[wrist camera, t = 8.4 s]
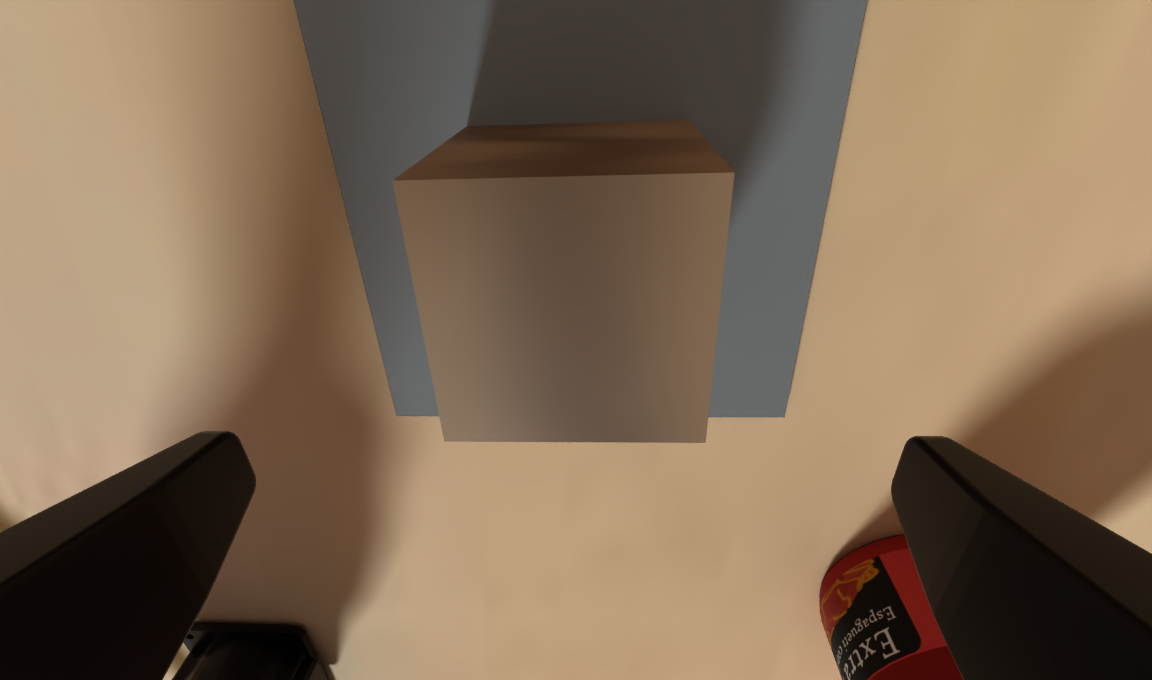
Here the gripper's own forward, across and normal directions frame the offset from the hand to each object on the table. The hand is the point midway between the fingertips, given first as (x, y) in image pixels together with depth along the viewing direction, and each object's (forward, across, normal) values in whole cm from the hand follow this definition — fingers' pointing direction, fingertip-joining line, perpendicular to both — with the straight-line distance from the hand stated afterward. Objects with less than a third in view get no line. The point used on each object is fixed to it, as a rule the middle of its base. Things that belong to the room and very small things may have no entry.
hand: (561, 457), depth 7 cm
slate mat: (+11, 0, 0) cm, 11 cm away
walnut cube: (+10, 0, 0) cm, 10 cm away
